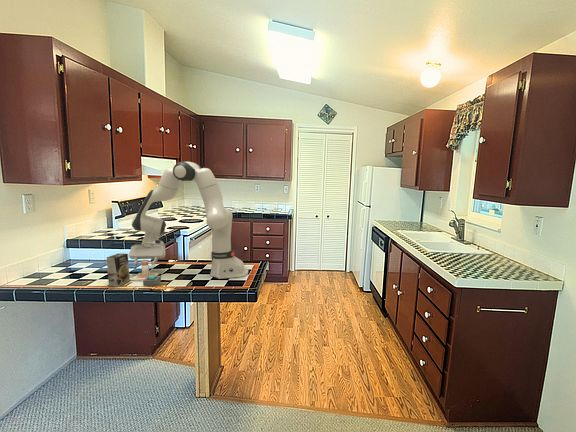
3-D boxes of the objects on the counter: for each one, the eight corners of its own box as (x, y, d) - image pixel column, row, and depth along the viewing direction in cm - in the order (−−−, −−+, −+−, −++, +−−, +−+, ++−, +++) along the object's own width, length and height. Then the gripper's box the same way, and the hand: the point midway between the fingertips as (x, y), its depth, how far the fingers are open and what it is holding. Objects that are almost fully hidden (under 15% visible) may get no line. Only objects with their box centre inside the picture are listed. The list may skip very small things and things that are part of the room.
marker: (150, 274, 184) (149, 259, 183) (147, 276, 180) (146, 261, 179) (143, 274, 184) (142, 259, 182) (141, 276, 180) (140, 261, 179)
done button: (156, 278, 173) (156, 275, 173) (154, 280, 170) (154, 277, 169) (150, 278, 173) (149, 275, 173) (147, 280, 169) (147, 277, 169)
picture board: (159, 273, 188) (159, 272, 188) (152, 280, 176) (152, 278, 176) (139, 274, 188) (139, 272, 188) (130, 281, 176) (130, 279, 176)
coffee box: (118, 287, 167) (116, 257, 164) (108, 286, 168) (105, 257, 166) (130, 281, 176) (128, 253, 173) (120, 280, 177) (118, 252, 175)
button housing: (161, 281, 175) (160, 276, 175) (156, 285, 168) (156, 280, 168) (148, 281, 175) (148, 276, 175) (143, 286, 168) (142, 280, 168)
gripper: (130, 241, 186) (124, 262, 178) (165, 241, 187) (160, 261, 179) (134, 247, 191) (128, 267, 183) (168, 246, 192) (163, 266, 184)
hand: (144, 264), depth 181 cm, fingers open, 8 cm apart
